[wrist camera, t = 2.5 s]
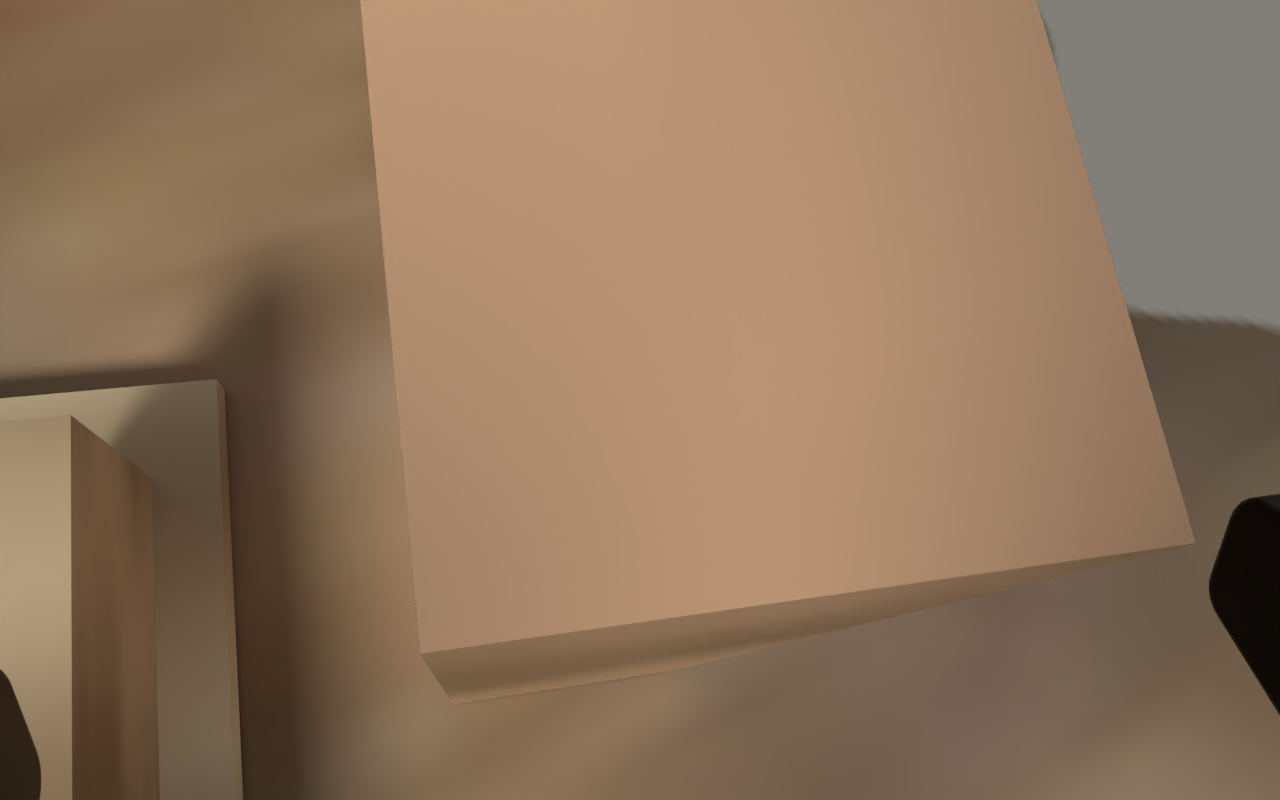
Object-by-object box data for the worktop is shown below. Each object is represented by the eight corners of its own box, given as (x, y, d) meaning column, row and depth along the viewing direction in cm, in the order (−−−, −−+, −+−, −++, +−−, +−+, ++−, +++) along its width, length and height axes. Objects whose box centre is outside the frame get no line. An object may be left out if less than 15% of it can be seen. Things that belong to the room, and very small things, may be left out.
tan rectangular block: (625, 380, 18) (947, -302, 6) (670, 671, 17) (1195, 543, 5) (423, 400, 18) (331, -322, 5) (453, 704, 16) (418, 654, 4)
